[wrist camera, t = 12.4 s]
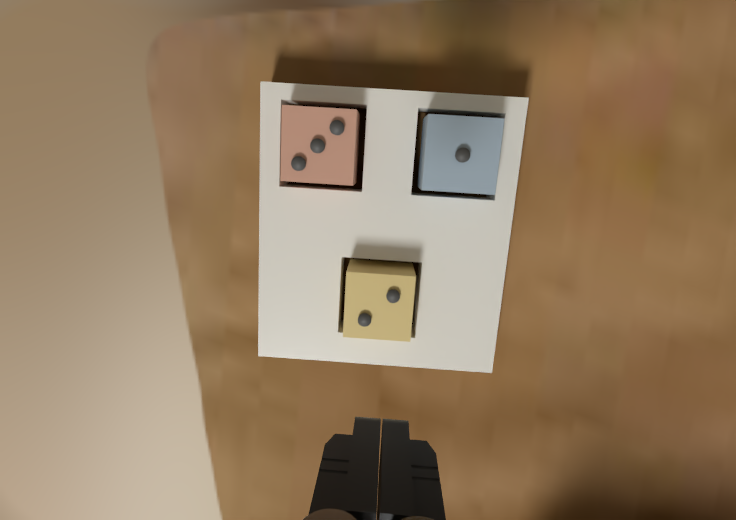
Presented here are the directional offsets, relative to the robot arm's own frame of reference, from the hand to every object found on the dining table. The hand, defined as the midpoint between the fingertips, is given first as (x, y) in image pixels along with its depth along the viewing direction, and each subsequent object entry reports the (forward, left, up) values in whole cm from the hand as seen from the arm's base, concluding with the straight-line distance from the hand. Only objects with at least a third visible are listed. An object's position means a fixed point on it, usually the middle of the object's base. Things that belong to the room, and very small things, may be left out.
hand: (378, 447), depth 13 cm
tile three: (+4, -8, -14) cm, 17 cm away
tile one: (-3, -8, -14) cm, 17 cm away
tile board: (0, -4, -15) cm, 15 cm away
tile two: (0, 0, -14) cm, 14 cm away
